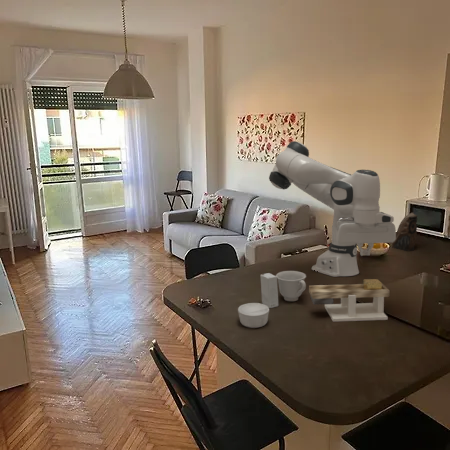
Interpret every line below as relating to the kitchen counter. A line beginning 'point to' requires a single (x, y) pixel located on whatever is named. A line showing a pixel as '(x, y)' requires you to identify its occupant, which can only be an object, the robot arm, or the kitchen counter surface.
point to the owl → (406, 233)
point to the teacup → (291, 284)
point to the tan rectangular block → (372, 284)
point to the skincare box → (269, 290)
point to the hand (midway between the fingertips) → (365, 255)
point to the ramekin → (253, 314)
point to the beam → (343, 292)
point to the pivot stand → (357, 310)
